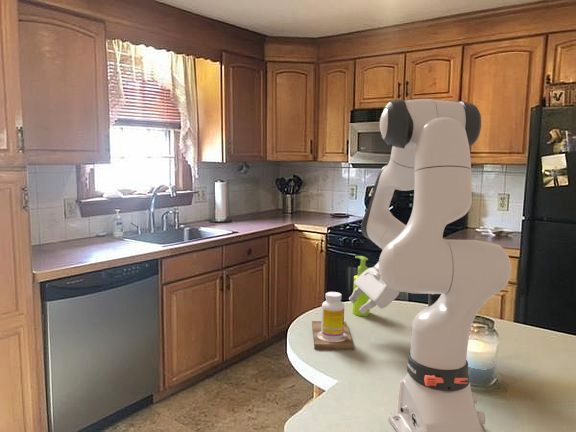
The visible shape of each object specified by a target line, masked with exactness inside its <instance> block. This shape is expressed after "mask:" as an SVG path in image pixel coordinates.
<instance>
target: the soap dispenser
mask: <svg viewBox="0 0 576 432" xmlns="http://www.w3.org/2000/svg"><path fill="white" fill-rule="evenodd" d="M354 258H355V259H359V260H360V265H358V266H357V275H354V276H353V282H354V281H355V279H356V278H357V277H358V276H360V275H361V274H362V273H363V272H364V271H365V270H367V269H368V268H369V267H368V266H367V265H366V261H369V258H367V257H366V256H363V255H355V256H354ZM356 287H357V286H356V285H355V284H354V283H353V290H352V293H353V292H354V290H355V288H356ZM369 299H370V298H369V297H368V296H367V295H366V294H365V293H362V294H361V295H359V296H358V298H357V301H355V303H352V314H353V315H355V316H359V317H367V316H369V315H370V313H371V309H370V310H367V311H366V312H365V313H364V314H362V313H361V312H360V311H359V307H360V306H361V305H364V304H366V303H367V302H368V300H369Z"/></svg>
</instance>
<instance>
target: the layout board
mask: <svg viewBox="0 0 576 432" xmlns="http://www.w3.org/2000/svg"><path fill="white" fill-rule="evenodd" d="M321 321H322V320H321ZM321 321H320V320H311V327H312V329H311V330H312V338H313V339H312V340H313V346H314V347H313V348H314V350H344V351H345V350H349V351H350V350H351V351H352V350H354V342H353V339H352V336H351V334H350V330H349V327H348V324H347V321H344V333H343V337H342V338H340V339H327V338H324V337H323V336H322V335H321Z"/></svg>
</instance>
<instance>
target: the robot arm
mask: <svg viewBox="0 0 576 432" xmlns="http://www.w3.org/2000/svg"><path fill="white" fill-rule="evenodd" d="M382 110H383V111H382V113H381V115H380V119H379V130H380V133H381V139H382V141H384V142H385V143H386V145H388V146H391V153H390V159H389V161H388V164H386V165H384V166H383V167H382V168H381V169H380V171H379V172H378V175H377V176H376V177H377V178H376V181H375V183H374V187H373V190H372V193H371V197H370V199H369V203H368V206H367V210H366V212H365V214H364V216H363V218H362V221H361V227H360V229H361V234H362V235H363V236H364V237H365V238H366V239H368V240H369V241H371V242H372V243H374V244H375V245H376V246H378V248H379V249H380V250H382V251H381V253H380V255H379V259H378V261H377V263H376V264H375V265H373V266H372V267H368V269H367V270H365V271H364V272H363V273H362V274H361V275H360V276H358V277H357V278H356V279H355V281H354V280H353V285H354V284H355V285H356V286H357V287H356V288H355V290H354V292H353V291H352V294H351V295H350V296H349V297H348V300H349V301H350V302H351V303H352V304H353V303H355V301H357V298H358V296H359V295H361V294H362V293H365V294H366V295H367V296H368V297H369V298H370V299H369V300H368V302H367V303H366V304H364V305H361V306H360V307H359V311H360V312H361V313H362V314H364V313H365V312H366V311H367V310H370V311H371V309H373V308H375V307H376V306H377V307H378V308H380V309H381V310H383V309H385V308H386V307H388V306H389V305H390V304H391V303H392V302H393V301H394V300H396V298H397V297H398V296H399V294H400V293H403V292H404V293H407V294H408V293H409V294H426V295H427V294H428V295H429V294H441V296H440V297H439V299H438V300H437V301H436V302H435V303H434V304H433V305H431V306H429V307H425V308H423V309H421V310H420V311H419V312H418V313H417V314H416V315H415V316H414V318H413V319H412V322H411V337H410V351H409V352H408V353H407V354H408V355H407V359H406V364H407V366H406V370H407V372H406V375H405V376H404V377H403V378H402V379H401V380H400V381H399V383H398V391H397V392H398V393H397V402H396V410H394V411H392V412H390V413H389V415H388V421H389V423H390V424H391V426H392V427H393V428H394V429H395V431H396V432H484V429H483V426H482V425H485V424H486V414H485V412H484V411H477V407H476V404H477V403H478V397H477V396H475V395H473V392H472V388H471V382H470V368H469V363H468V362H469V361H468V358H467V356H468V354H467V353H468V347H469V339H470V332H471V328H472V325H473V323H474V320H475V318H476V316H477V315H478V314H479V311H480V310H481V308H482V307H483V306H484V305H485V303H487V302H488V301H489V299H491V298H492V297H493V296H495V295H496V294H498V293H499V292H501V291H502V290H504V288H506V286H507V285H508V283H509V281H510V279H511V275H512V262H511V259H510V257H509V254H508V253H507V251H506V250H505V248H503V247H502V246H501V245H500V244H497V243H492V242H489V241H483V240H479V239H447V238H446V239H445V238H444V236H443V235H444V231H445V228H446V226H447V225H449V224H451V223H453V222H455V221H457V220H459V219H461V218H462V217H464V216H466V214H467V213H468V212H470V209H471V207H472V203H473V198H472V197H473V193H472V192H473V191H472V189H473V188H472V185H473V184H472V161H471V160H472V159H471V151H470V150H471V149H470V147H471V146H473V145H474V144H475V143H476V142H477V141H478V139H479V137H480V134H481V130H482V129H481V128H482V115H481V112H480V110H479V108H478V107H477V106H476V105H475V104H473V103H470V102H466V101H452V100H441V99H433V98H418V99H408V100H404V98H402V99H397V100H391V101H389V102H388V103H386V105H385V106H384V107H383V109H382ZM396 190H397V191H401V192H403V191H405V192H407V191H408V192H409V191H413V204H412V210H411V214H410V217H409V219H408V221H407V224H405V223H403V222H402V221H400V220H399V219H398V218H396V217H395V216H394V215H393V213H392V212H391V211H390V205H391V201H392V198H393V197H394V193H395V191H396Z"/></svg>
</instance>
